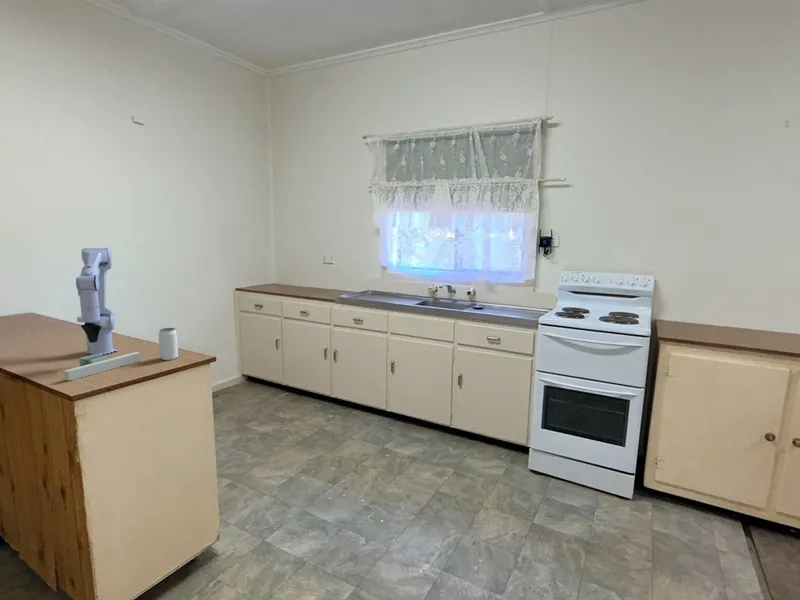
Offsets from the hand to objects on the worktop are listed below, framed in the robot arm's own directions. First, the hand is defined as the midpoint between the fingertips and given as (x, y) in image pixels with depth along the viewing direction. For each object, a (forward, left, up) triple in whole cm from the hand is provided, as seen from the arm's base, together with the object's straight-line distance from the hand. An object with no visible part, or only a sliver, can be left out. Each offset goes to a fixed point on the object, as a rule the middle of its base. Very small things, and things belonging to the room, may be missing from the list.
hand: (93, 342), depth 171 cm
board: (+11, -3, -9) cm, 14 cm away
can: (+18, +18, -9) cm, 27 cm away
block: (+6, -4, -9) cm, 11 cm away
